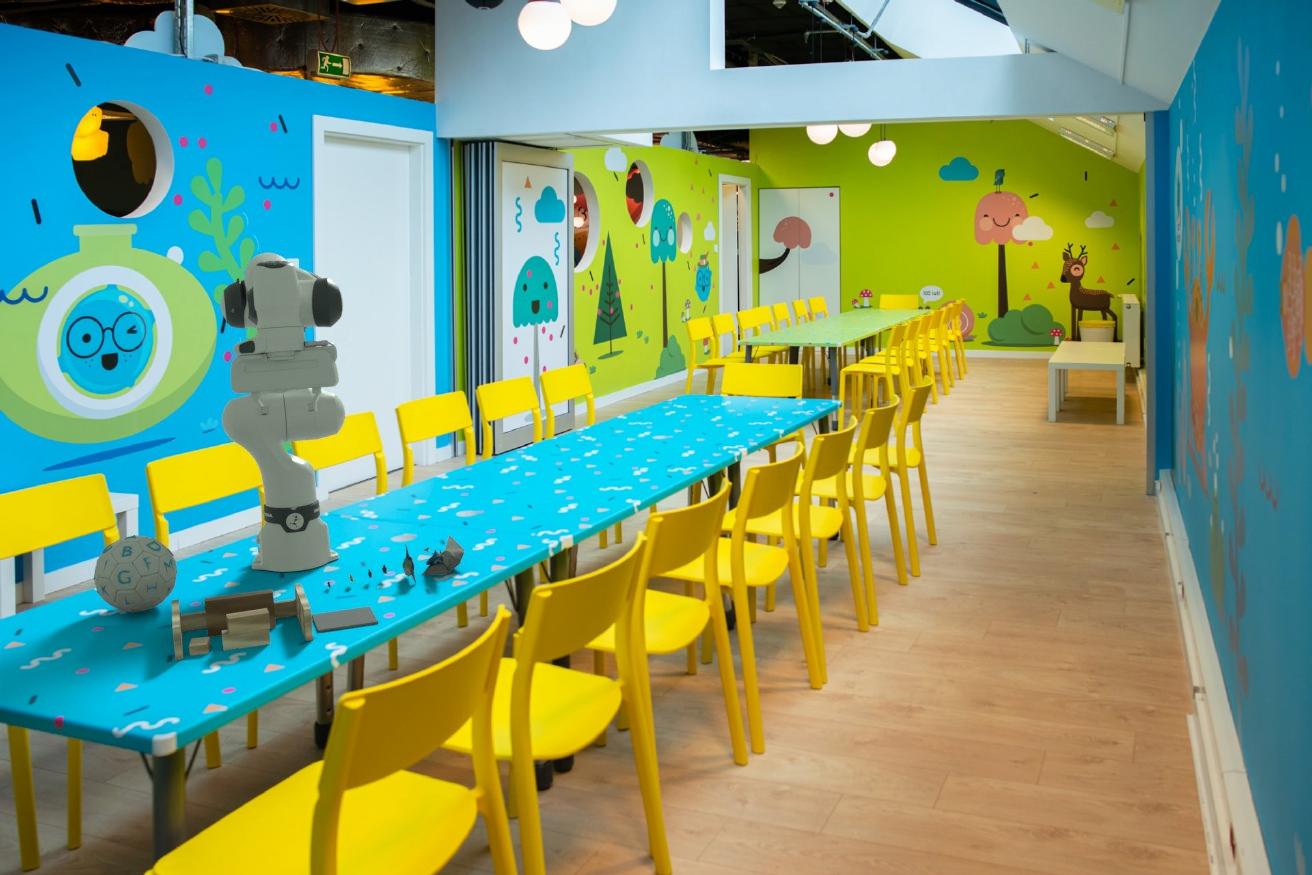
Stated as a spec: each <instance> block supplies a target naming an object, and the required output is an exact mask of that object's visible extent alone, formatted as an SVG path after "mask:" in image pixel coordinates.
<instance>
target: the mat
mask: <svg viewBox="0 0 1312 875" xmlns="http://www.w3.org/2000/svg"><path fill="white" fill-rule="evenodd" d="M311 618H312V620H313V622H314V625H315V627H316V631H317V632H318V633H322V632H328V631H336V630H337V631H338V630H344V629H350V628H357V627H364V626H369V625H371V626H372V625H378V624H379V621H378V618H377V617H376V614H375V613H374V612H373V609H372V608H371V606H363V607H356V608H355V607H354V608H349V609H347V608H346V609H341V610H335V611H328V612H320V613H311Z"/></svg>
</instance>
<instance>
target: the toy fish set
mask: <svg viewBox="0 0 1312 875" xmlns="http://www.w3.org/2000/svg"><path fill="white" fill-rule="evenodd" d="M437 552H438V551H437V550H436V549H435V550H434V551H433V553H434V554H432V555H431V557H429V559H427V561H426V562H425V566H427V568H426V569H425V570H426V575H425V576H428V575H427V569H428V568H430V567H432V566H434V564H444V563H441V562H440V561H441V560H442V561H443V556H442V555H441V552H442V550H441V549H439V552H440V554H439V553H437ZM444 565H445V564H444ZM445 566H446V565H445ZM446 567H447V566H446ZM387 568H388V567H387V566H386V564H383V565H382V568H381V570H382V573H383V574H385V575H387V573H388V569H387ZM402 568H403V572H404V574H405V576H407V577H412V579H413V581H414V584H415V585H416V584H417V581H416V576H415V563H414V559H413V557H411V556H410V554H409V550H408V547H407V544H406V543H405V558H404V559H403V562H402ZM447 569H448V568H447ZM448 570H449V569H448ZM367 571H368V572H367V575H368V577H369V578H370V579H372V577H373V575H372V571H371V570H370V568H368V570H367ZM353 577H354V576H352V573H349V581H350V582H352V583H354V578H353ZM327 587H328V588H329V589H331V583H330V581H327Z"/></svg>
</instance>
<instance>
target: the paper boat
mask: <svg viewBox="0 0 1312 875" xmlns="http://www.w3.org/2000/svg"><path fill="white" fill-rule="evenodd" d="M429 549H430V546H428V547H426V548H423V551H424V552H427V553H430V554H432V555H433V554H434V552H431V551H429ZM436 552H437V553H439V554H440V551H436ZM464 553H465V548H463V546H461V544H459V543H458V542H457V541H456V540H455V538H453V537H452V536H451V535H450V534H449V535H448V538H447V542H446V546H445V549H444V550H443V551H442V550H441V555H442V556H443V561H442V560H441V561H440V562H441V563H444V564H445V565H446V566H447V567H446V566H445V565H444V564H434V566H432V567H430V568H428V567H427V568H428V569H427V568H426V569H427V576H443V575H444V576H446V575H449V574H450V573H451V572H453V571H454V570H455V569H456V568H457V567H458V566H459V565H460V564H461V563H462V562H461V561H462V560H463V557H464ZM447 568H448V569H449V570H448V569H447ZM426 569H425V570H424V571H423V572H422V573H421V576H426Z"/></svg>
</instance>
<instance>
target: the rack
mask: <svg viewBox="0 0 1312 875" xmlns="http://www.w3.org/2000/svg"><path fill="white" fill-rule="evenodd" d="M293 586H294V598H293V599H286V600H277V601H274V610H275V618H276V619H280V618H281V619H282V618H289V616H290V617H297V619H298V621H299V624H300V626H301V630H302V633H303V636H304V639H305V641H306V642H309V641H313V640H314V633H313V621H312V620H313V618H312V609H311V606H310V604H309V600H308V598H307V595H306V593H305V590H304V588H303V586H302V584H301V583H294V585H293ZM171 620H172V621H171V622H172V624H171V625H172V629H171V630H172V636H173V637H172V638H173V639H172V640H173V649H174V656H175V657H174V659H175V661H182V660H183V659H184V652H183V651H184V650H183V632H190V631H195V630H202V629H204V630H205V629H207V623H206V612H205V610H204V611H197V612H189V613H188V612H187V613H181V609H180V599H172V600H171Z"/></svg>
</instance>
